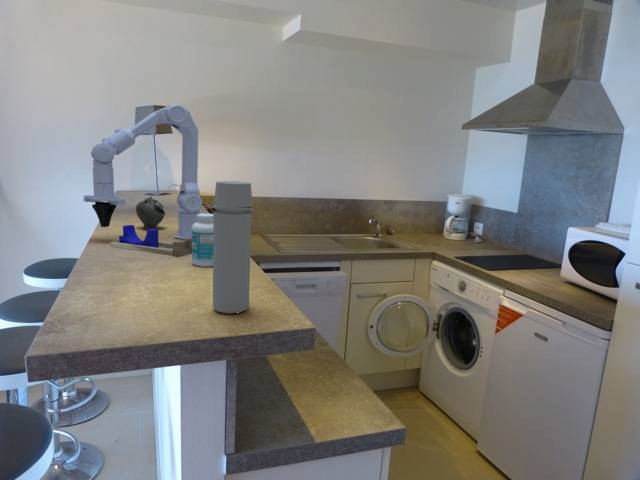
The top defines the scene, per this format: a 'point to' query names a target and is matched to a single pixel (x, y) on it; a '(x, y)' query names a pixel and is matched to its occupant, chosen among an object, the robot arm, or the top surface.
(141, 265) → the top surface
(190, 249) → the guide channel
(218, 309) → the water bottle
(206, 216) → the pill bottle
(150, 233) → the blue cradle block
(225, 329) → the top surface
